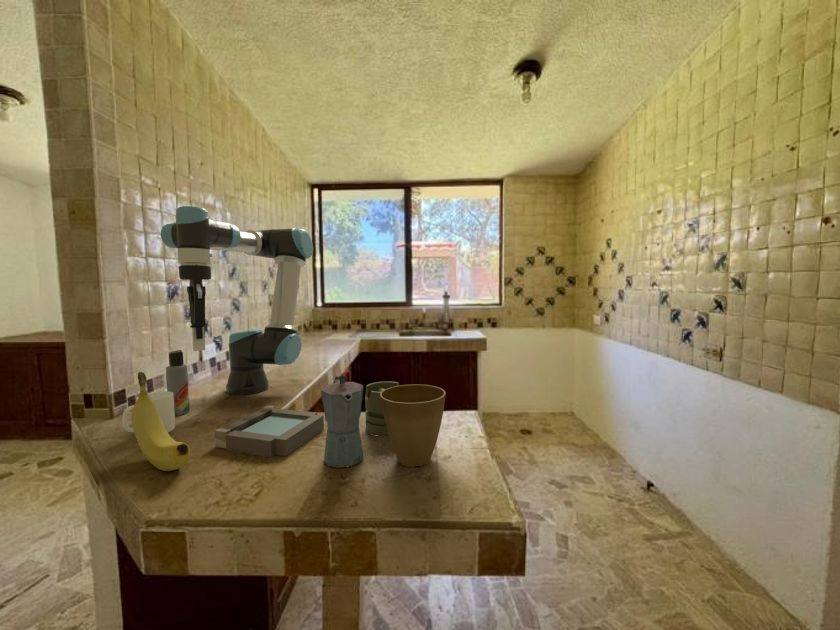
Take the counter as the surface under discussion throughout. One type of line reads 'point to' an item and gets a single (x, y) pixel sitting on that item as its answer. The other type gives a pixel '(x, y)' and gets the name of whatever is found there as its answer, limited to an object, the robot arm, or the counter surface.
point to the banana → (156, 434)
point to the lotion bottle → (178, 382)
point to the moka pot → (342, 422)
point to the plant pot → (413, 421)
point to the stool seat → (276, 433)
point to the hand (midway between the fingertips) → (199, 350)
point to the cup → (164, 406)
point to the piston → (376, 408)
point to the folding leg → (241, 425)
